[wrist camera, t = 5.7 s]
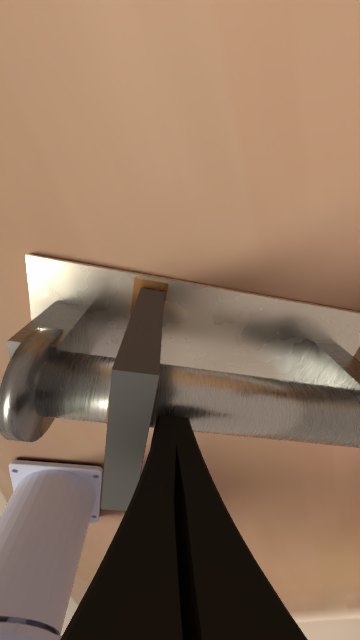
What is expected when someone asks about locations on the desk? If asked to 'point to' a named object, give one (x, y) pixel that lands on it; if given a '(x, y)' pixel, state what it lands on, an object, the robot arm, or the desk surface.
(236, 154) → the desk surface
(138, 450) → the collar
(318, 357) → the rail
